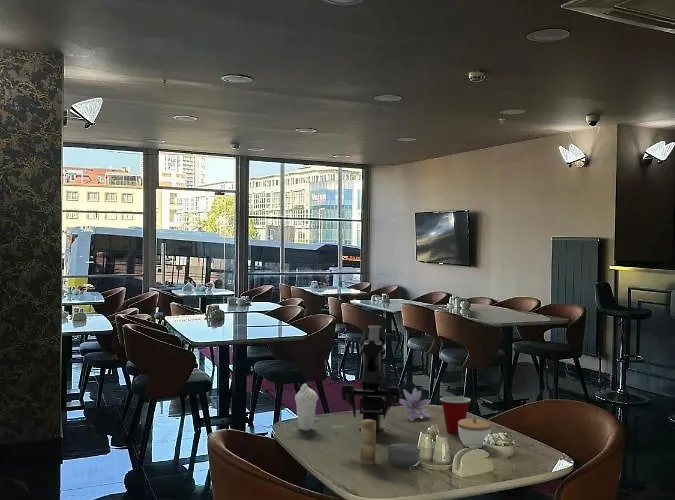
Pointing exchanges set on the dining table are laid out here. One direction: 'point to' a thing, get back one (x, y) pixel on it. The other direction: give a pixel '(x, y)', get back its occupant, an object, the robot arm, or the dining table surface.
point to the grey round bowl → (402, 455)
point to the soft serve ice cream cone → (306, 407)
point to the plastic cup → (454, 411)
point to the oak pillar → (368, 442)
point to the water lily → (415, 404)
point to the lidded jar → (473, 431)
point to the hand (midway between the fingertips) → (369, 417)
